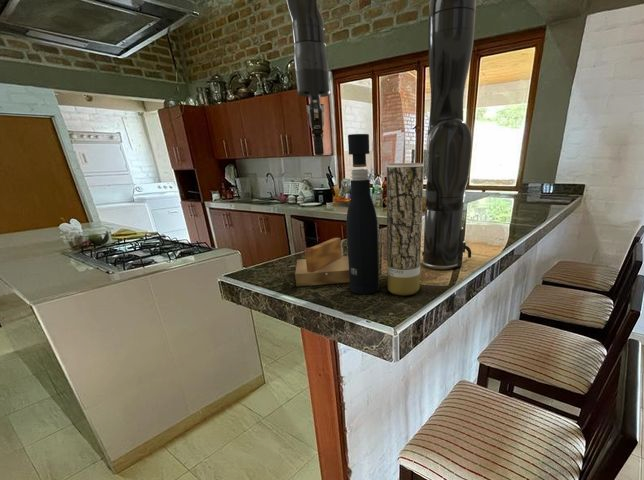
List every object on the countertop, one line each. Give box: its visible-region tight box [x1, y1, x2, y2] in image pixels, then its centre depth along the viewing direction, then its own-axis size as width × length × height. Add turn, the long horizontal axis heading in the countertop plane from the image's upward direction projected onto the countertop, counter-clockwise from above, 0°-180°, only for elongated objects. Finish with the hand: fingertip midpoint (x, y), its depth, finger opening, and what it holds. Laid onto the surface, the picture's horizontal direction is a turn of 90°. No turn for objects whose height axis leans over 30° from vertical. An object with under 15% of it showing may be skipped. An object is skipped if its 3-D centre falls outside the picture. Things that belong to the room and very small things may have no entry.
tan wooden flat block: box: [304, 237, 343, 272], centre depth 80 cm, size 13×2×5 cm, turn 155°
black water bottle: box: [345, 133, 380, 295], centre depth 67 cm, size 6×6×30 cm
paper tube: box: [386, 162, 425, 297], centre depth 66 cm, size 7×7×25 cm
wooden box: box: [288, 255, 350, 287], centre depth 82 cm, size 17×17×3 cm
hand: (319, 155), depth 83 cm, fingers closed
